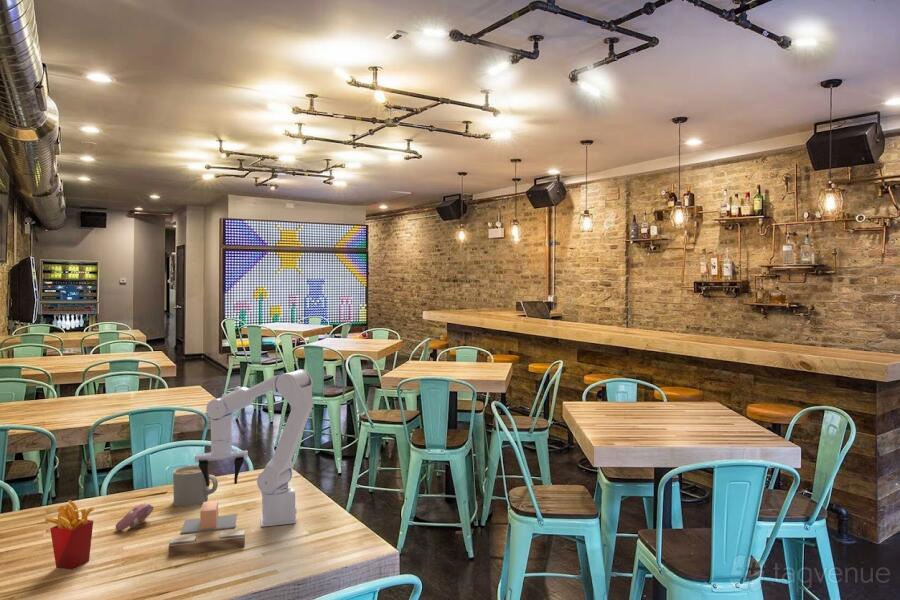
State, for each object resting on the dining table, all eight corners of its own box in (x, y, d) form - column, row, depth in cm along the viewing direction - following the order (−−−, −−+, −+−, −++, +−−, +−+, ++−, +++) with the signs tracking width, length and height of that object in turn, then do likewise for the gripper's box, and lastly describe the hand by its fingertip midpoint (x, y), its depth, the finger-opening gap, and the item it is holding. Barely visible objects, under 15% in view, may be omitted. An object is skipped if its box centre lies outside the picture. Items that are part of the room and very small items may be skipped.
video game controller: (125, 537, 168) (135, 516, 167) (112, 529, 168) (122, 507, 168) (149, 524, 177) (158, 503, 177) (137, 516, 178) (146, 496, 177)
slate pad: (236, 515, 180) (236, 514, 180) (234, 528, 170) (234, 526, 170) (185, 521, 175) (185, 519, 175) (180, 534, 166) (180, 532, 166)
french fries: (95, 559, 151) (94, 499, 150) (67, 574, 142) (66, 511, 142) (66, 556, 153) (65, 497, 152) (36, 571, 144) (35, 508, 144)
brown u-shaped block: (244, 540, 161) (244, 529, 161) (244, 546, 157) (244, 535, 157) (171, 549, 156) (170, 538, 156) (168, 556, 152) (168, 544, 152)
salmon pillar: (218, 517, 177) (218, 500, 177) (216, 527, 169) (215, 509, 169) (203, 519, 176) (203, 501, 176) (200, 529, 168) (200, 511, 168)
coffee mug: (166, 505, 189) (166, 473, 189) (187, 494, 198) (186, 464, 198) (204, 508, 186) (204, 475, 186) (223, 497, 195) (223, 466, 195)
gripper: (247, 433, 185) (248, 477, 185) (196, 437, 181) (197, 482, 181) (246, 438, 178) (247, 484, 178) (193, 442, 174) (194, 489, 174)
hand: (221, 484), depth 179 cm, fingers open, 7 cm apart
